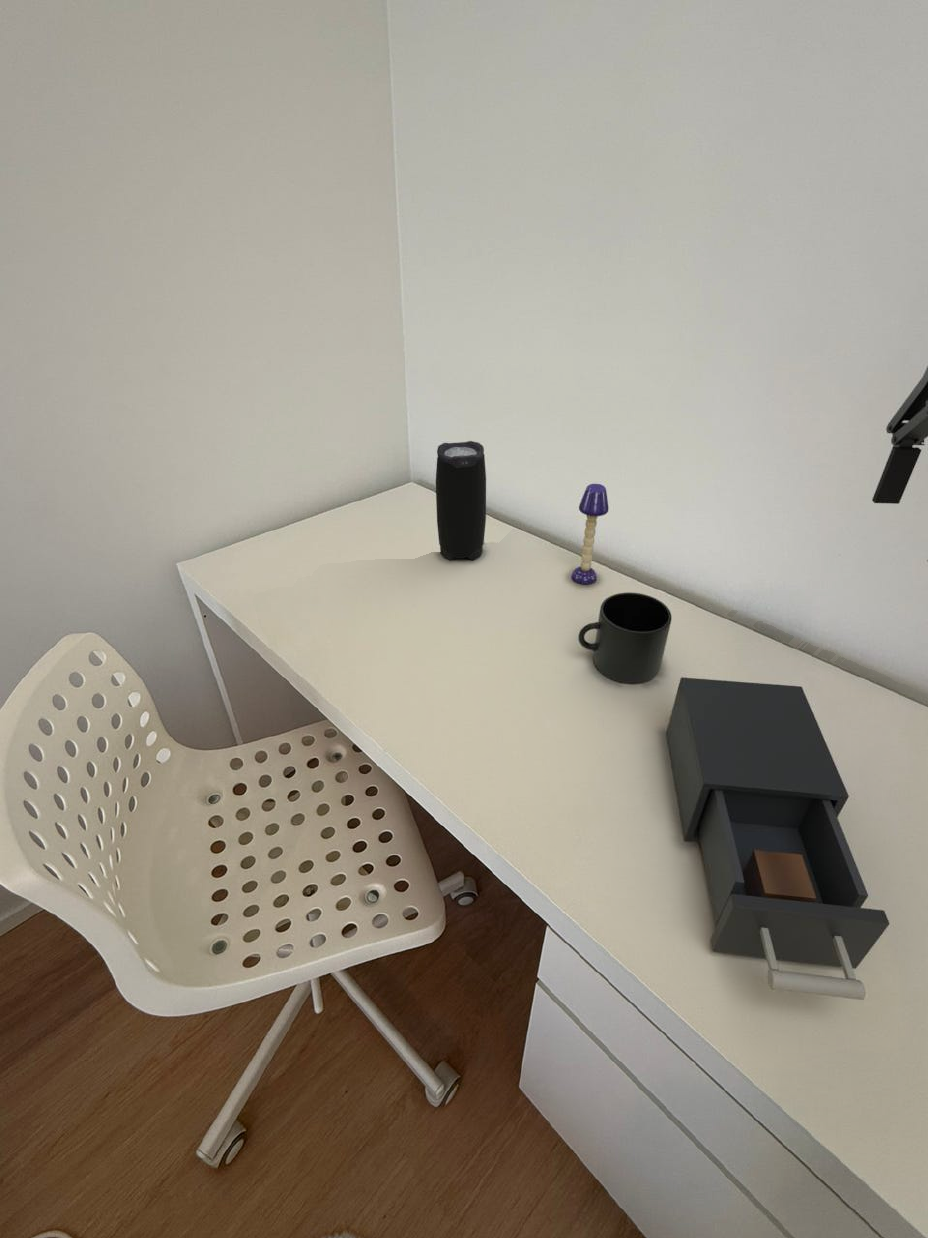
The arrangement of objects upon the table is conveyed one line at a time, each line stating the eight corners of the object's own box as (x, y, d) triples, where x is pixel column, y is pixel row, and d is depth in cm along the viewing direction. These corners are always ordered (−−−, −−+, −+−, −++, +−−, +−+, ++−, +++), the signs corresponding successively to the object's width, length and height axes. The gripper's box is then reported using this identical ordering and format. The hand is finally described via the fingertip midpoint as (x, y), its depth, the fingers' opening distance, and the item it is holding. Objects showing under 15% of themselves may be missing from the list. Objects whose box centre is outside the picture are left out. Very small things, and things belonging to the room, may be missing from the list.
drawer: (877, 1030, 54) (916, 986, 49) (723, 1010, 55) (746, 966, 50) (807, 830, 69) (831, 783, 64) (688, 818, 70) (703, 771, 66)
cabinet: (817, 854, 68) (849, 796, 62) (684, 841, 69) (703, 783, 63) (778, 743, 80) (801, 686, 74) (665, 733, 82) (680, 676, 76)
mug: (571, 641, 96) (577, 591, 91) (652, 642, 96) (663, 592, 91) (578, 684, 89) (585, 632, 83) (666, 685, 89) (679, 633, 83)
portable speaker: (480, 537, 122) (482, 436, 110) (488, 563, 114) (491, 458, 102) (435, 540, 121) (431, 439, 109) (440, 566, 113) (437, 461, 101)
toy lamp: (568, 570, 112) (578, 480, 102) (595, 569, 112) (607, 480, 102) (573, 585, 108) (584, 494, 98) (601, 584, 109) (614, 493, 99)
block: (788, 880, 63) (802, 854, 61) (801, 924, 60) (816, 898, 57) (741, 875, 64) (753, 849, 61) (752, 918, 60) (765, 892, 58)
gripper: (1160, 357, 47) (1016, 596, 60) (976, 291, 67) (897, 481, 80) (1049, 356, 48) (931, 593, 60) (899, 291, 68) (834, 480, 80)
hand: (911, 530), depth 70 cm, fingers open, 13 cm apart
